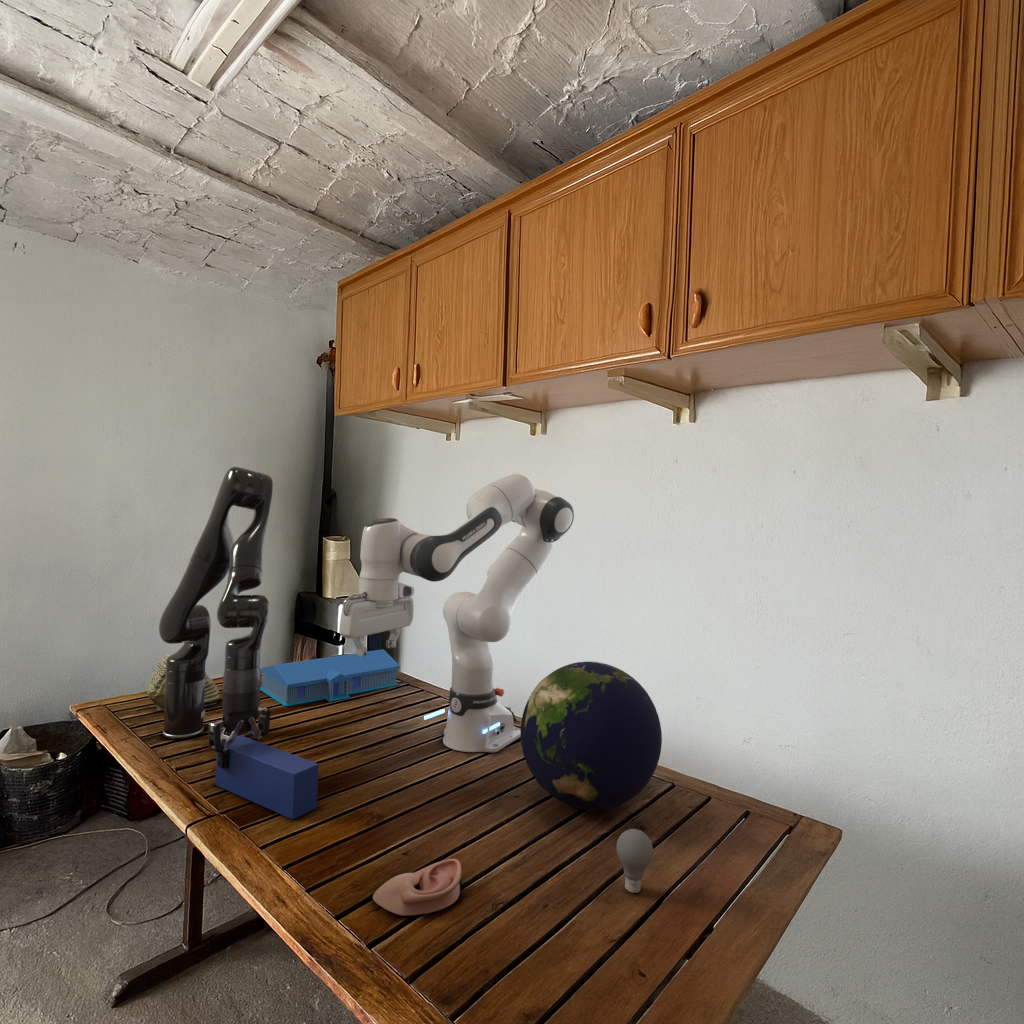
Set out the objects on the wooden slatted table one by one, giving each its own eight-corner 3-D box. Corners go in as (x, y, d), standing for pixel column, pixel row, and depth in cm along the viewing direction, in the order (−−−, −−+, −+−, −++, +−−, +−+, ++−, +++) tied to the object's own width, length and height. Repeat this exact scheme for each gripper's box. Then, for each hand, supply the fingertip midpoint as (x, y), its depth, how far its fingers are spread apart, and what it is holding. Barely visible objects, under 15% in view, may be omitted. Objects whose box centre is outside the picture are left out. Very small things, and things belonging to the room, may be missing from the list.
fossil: (144, 707, 182) (145, 655, 182) (212, 696, 194) (213, 647, 194) (151, 716, 175) (153, 662, 175) (221, 703, 188) (223, 653, 188)
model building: (289, 709, 186) (291, 675, 185) (258, 688, 204) (259, 657, 204) (403, 687, 212) (405, 657, 212) (366, 670, 230) (368, 643, 230)
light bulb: (610, 879, 108) (613, 822, 108) (644, 879, 109) (647, 822, 109) (619, 902, 102) (622, 840, 102) (655, 901, 103) (658, 840, 103)
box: (214, 784, 137) (216, 743, 137) (240, 775, 142) (241, 735, 142) (292, 819, 124) (294, 774, 124) (317, 807, 129) (318, 763, 129)
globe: (495, 817, 128) (501, 670, 127) (544, 763, 155) (549, 641, 155) (643, 855, 116) (651, 693, 116) (668, 789, 144) (674, 658, 144)
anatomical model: (365, 883, 98) (393, 844, 109) (364, 909, 98) (392, 867, 109) (447, 898, 95) (468, 857, 106) (446, 924, 95) (467, 880, 106)
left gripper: (222, 698, 129) (219, 779, 130) (280, 682, 142) (278, 756, 142) (200, 691, 133) (197, 769, 134) (259, 676, 145) (256, 748, 146)
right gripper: (355, 597, 132) (352, 663, 132) (418, 587, 149) (416, 646, 149) (333, 593, 135) (331, 658, 135) (398, 584, 152) (396, 641, 153)
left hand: (239, 762), depth 138 cm, fingers open, 6 cm apart
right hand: (376, 651), depth 143 cm, fingers open, 8 cm apart
